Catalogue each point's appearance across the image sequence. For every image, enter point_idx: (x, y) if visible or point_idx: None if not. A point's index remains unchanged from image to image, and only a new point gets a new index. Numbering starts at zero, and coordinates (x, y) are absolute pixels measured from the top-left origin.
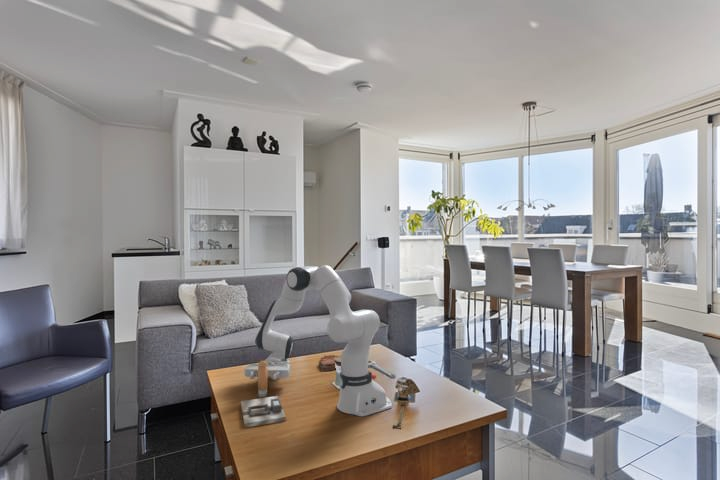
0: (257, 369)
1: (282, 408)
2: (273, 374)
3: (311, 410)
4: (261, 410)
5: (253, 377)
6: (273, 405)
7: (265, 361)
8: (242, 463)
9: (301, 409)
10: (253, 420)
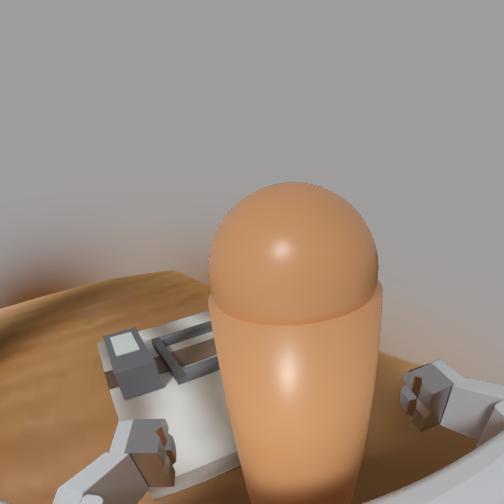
0: (497, 437)
1: (105, 374)
2: (140, 447)
3: (8, 401)
4: (194, 354)
5: (404, 394)
6: (134, 332)
7: (235, 209)
8: (179, 275)
9: (37, 408)
10: (200, 318)
